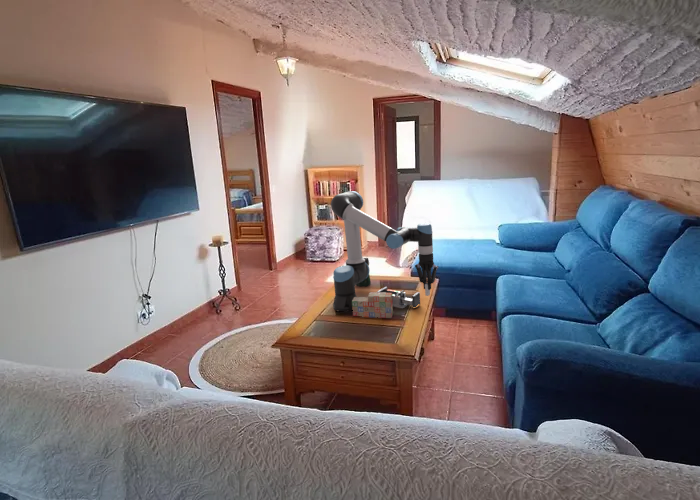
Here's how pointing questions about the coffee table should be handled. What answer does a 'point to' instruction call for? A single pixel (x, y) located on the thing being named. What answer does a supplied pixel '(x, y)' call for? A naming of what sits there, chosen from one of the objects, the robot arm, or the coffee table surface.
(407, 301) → the plunger
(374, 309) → the stack of blocks
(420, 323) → the coffee table surface
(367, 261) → the coffee jar
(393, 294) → the gauge body
